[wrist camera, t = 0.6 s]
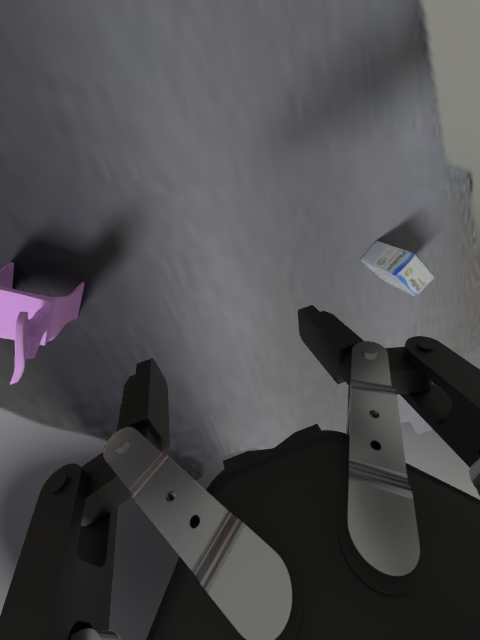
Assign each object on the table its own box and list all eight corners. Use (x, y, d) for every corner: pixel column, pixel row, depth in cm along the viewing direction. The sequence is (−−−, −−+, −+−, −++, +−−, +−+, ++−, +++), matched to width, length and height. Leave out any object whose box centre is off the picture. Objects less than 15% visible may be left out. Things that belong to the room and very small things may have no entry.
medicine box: (395, 260, 48) (436, 276, 41) (379, 279, 49) (416, 297, 42) (375, 239, 44) (416, 252, 37) (358, 260, 45) (395, 277, 38)
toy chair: (6, 252, 30) (-101, 309, 18) (86, 275, 34) (43, 335, 22) (2, 308, 33) (-91, 389, 21) (76, 324, 37) (34, 399, 25)
